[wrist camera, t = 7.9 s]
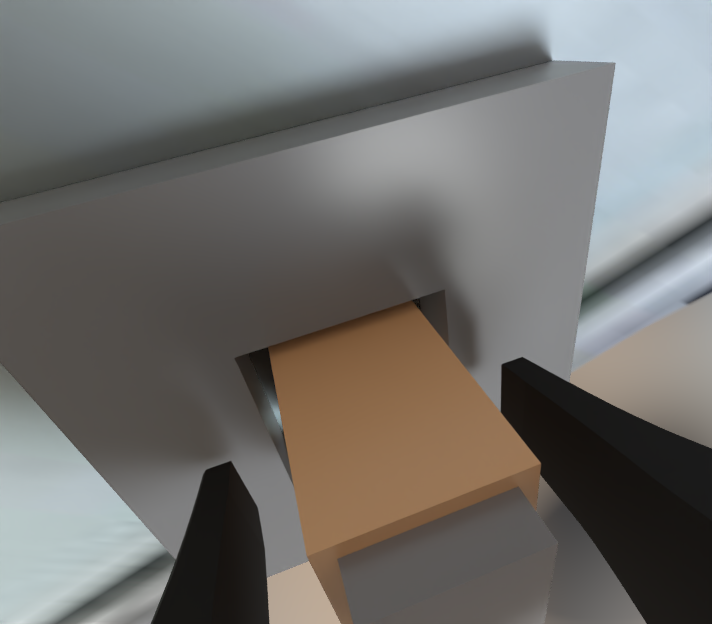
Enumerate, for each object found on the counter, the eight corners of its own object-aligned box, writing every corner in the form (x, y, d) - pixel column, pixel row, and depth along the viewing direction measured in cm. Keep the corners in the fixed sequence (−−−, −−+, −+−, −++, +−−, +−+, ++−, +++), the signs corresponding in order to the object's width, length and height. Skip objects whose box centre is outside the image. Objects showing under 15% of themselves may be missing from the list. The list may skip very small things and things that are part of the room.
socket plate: (553, 60, 11) (615, 62, 9) (527, 425, 19) (557, 461, 17) (-42, 213, 9) (-99, 251, 7) (211, 545, 17) (211, 599, 15)
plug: (392, 276, 13) (584, 519, 6) (407, 373, 15) (560, 626, 8) (262, 317, 12) (320, 630, 6) (298, 411, 14) (370, 713, 8)
